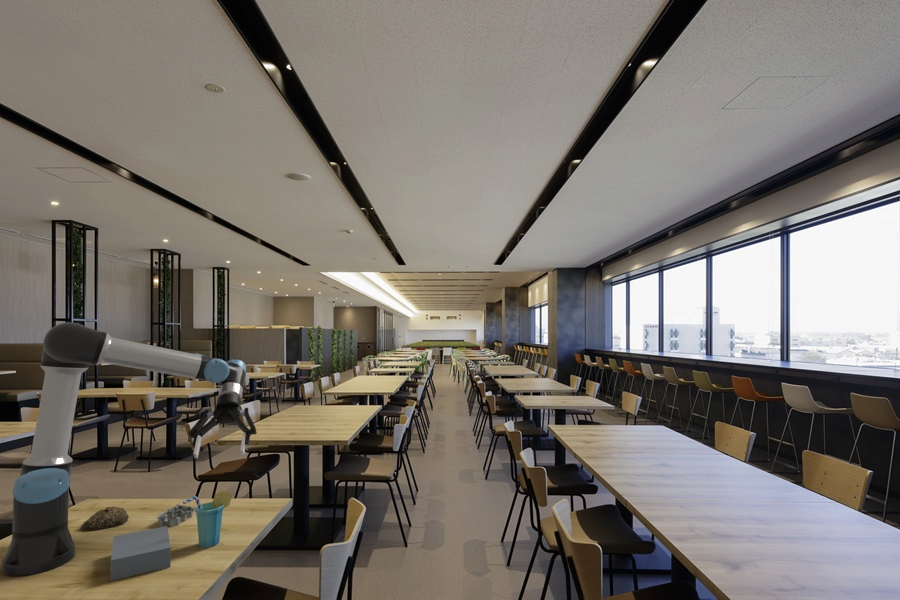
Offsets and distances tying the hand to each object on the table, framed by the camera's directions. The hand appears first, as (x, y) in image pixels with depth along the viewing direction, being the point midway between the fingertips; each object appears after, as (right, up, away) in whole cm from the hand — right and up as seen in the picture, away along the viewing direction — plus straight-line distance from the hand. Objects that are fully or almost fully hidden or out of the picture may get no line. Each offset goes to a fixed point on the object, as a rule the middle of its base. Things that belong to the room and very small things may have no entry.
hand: (219, 454), depth 156 cm
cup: (+2, -22, -13) cm, 26 cm away
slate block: (-11, -22, -22) cm, 33 cm away
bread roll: (-39, -24, +5) cm, 46 cm away
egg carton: (-17, -24, +6) cm, 30 cm away
